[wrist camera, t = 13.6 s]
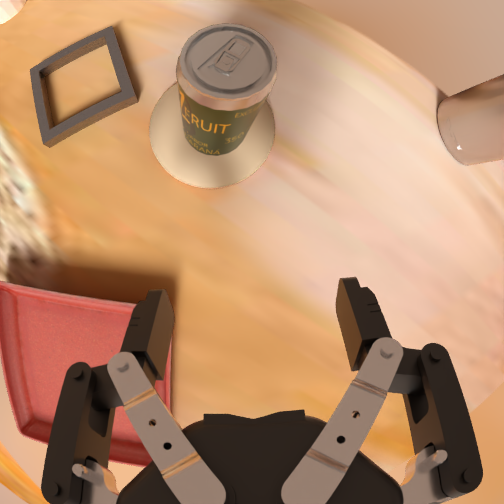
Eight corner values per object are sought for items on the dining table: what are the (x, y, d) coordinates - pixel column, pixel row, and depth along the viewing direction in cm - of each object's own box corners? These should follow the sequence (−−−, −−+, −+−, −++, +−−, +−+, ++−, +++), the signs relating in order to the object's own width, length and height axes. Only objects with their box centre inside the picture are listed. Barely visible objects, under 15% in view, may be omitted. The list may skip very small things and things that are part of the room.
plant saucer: (29, 422, 24) (18, 436, 21) (8, 274, 23) (-10, 279, 20) (172, 452, 27) (171, 471, 24) (176, 298, 26) (173, 308, 23)
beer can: (205, 91, 24) (213, 7, 13) (257, 119, 25) (298, 51, 14) (171, 138, 24) (153, 73, 12) (225, 169, 25) (247, 123, 13)
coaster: (245, 62, 25) (246, 59, 25) (292, 162, 27) (294, 161, 26) (134, 100, 24) (133, 98, 23) (176, 208, 25) (175, 208, 25)
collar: (115, 33, 23) (112, 25, 21) (138, 101, 24) (135, 95, 22) (35, 75, 21) (29, 69, 20) (49, 147, 23) (43, 144, 21)
